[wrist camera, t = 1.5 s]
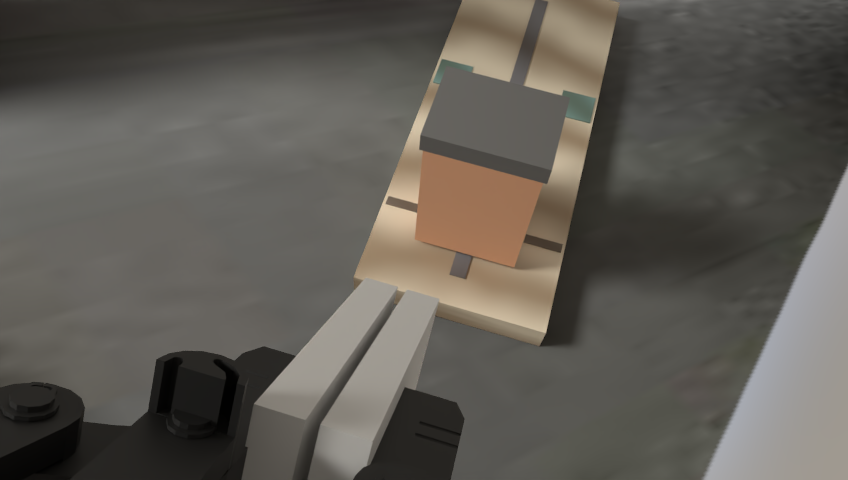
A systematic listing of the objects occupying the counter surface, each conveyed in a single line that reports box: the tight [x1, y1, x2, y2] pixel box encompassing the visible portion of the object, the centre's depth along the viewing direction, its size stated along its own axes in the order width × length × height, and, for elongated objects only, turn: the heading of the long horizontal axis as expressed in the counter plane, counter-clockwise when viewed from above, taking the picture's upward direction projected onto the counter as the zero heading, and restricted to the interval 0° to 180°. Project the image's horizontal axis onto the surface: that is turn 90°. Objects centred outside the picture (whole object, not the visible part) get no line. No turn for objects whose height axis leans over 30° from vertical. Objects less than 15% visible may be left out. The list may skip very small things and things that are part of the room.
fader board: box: [354, 0, 620, 346], centre depth 52 cm, size 30×12×2 cm, turn 164°
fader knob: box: [415, 66, 570, 267], centre depth 42 cm, size 5×7×10 cm
